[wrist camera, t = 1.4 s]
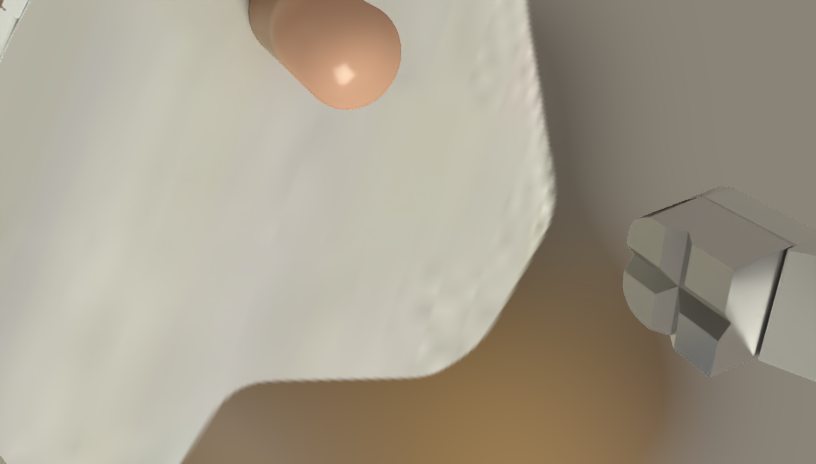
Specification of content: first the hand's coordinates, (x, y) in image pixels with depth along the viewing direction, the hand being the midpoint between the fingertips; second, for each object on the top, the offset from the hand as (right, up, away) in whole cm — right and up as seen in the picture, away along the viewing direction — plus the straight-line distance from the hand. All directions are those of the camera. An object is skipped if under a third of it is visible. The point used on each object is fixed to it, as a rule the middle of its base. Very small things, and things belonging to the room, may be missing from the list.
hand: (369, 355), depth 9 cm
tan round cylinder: (-6, +13, +29) cm, 32 cm away
